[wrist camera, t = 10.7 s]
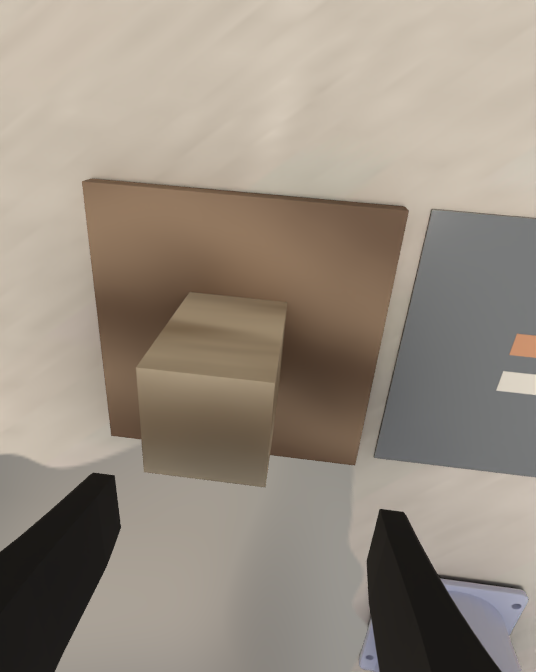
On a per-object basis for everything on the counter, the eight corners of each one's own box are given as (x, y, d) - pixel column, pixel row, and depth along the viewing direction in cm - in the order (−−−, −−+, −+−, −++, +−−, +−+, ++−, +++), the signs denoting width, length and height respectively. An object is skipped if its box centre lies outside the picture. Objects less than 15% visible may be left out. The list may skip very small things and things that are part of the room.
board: (353, 453, 22) (354, 465, 21) (117, 425, 23) (111, 435, 22) (404, 206, 16) (408, 210, 16) (91, 178, 17) (81, 181, 16)
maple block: (279, 385, 20) (265, 487, 14) (190, 375, 20) (143, 471, 14) (287, 302, 18) (275, 382, 12) (189, 292, 18) (135, 367, 13)
